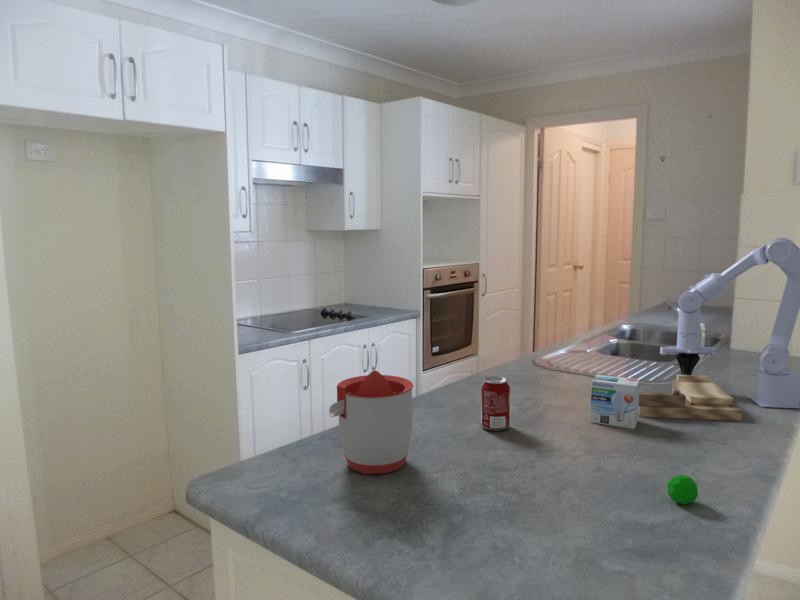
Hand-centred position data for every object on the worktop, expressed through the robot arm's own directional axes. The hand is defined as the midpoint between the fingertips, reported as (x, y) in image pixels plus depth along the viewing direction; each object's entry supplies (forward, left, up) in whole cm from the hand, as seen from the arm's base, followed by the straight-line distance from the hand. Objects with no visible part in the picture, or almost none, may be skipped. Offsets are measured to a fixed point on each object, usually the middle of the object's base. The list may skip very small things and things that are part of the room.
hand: (685, 379), depth 169 cm
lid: (0, +13, 0) cm, 13 cm away
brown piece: (+6, +15, -3) cm, 16 cm away
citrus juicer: (+79, +62, -4) cm, 101 cm away
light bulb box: (+25, +29, -4) cm, 39 cm away
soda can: (+54, +37, -4) cm, 66 cm away
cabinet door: (+13, +23, -1) cm, 26 cm away
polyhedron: (+21, +70, -4) cm, 73 cm away
